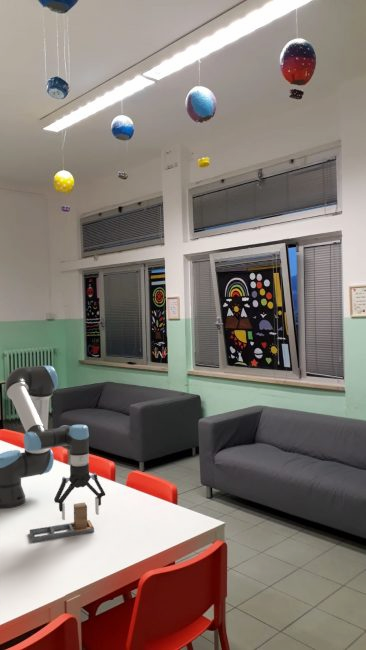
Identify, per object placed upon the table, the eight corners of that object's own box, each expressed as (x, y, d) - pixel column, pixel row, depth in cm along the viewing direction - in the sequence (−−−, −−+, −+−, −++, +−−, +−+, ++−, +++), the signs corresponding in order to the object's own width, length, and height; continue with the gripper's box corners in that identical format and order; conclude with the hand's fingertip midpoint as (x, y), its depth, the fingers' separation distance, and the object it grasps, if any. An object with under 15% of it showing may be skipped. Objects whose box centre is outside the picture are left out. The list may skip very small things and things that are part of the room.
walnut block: (74, 528, 206) (73, 504, 206) (85, 526, 208) (84, 502, 208) (76, 532, 202) (75, 507, 202) (87, 530, 204) (86, 506, 204)
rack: (29, 533, 202) (29, 529, 202) (89, 523, 211) (89, 519, 211) (31, 542, 194) (31, 538, 194) (94, 531, 202) (94, 527, 202)
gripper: (49, 470, 197) (50, 524, 197) (112, 462, 206) (112, 514, 206) (46, 465, 204) (47, 517, 204) (107, 458, 213) (108, 508, 213)
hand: (80, 516), depth 205 cm, fingers open, 13 cm apart
